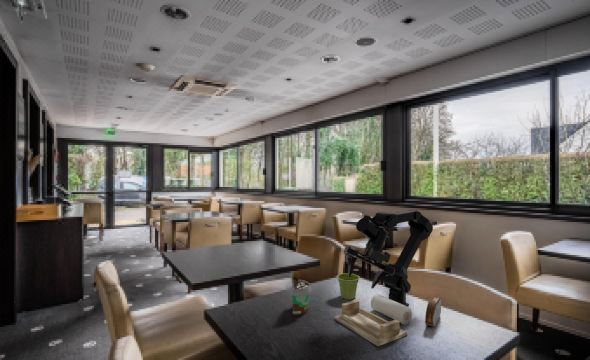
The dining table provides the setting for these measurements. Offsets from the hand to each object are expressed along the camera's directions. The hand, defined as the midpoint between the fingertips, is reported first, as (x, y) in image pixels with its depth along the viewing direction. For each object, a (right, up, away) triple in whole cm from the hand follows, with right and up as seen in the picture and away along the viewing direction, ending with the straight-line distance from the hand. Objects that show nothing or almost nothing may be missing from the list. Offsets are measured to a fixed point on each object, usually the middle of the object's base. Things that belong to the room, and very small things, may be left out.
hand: (360, 282), depth 113 cm
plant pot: (-1, -13, +20) cm, 24 cm away
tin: (+25, -13, -3) cm, 29 cm away
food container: (-21, -13, +6) cm, 25 cm away
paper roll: (+11, -13, +2) cm, 17 cm away
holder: (+1, -13, -7) cm, 15 cm away
